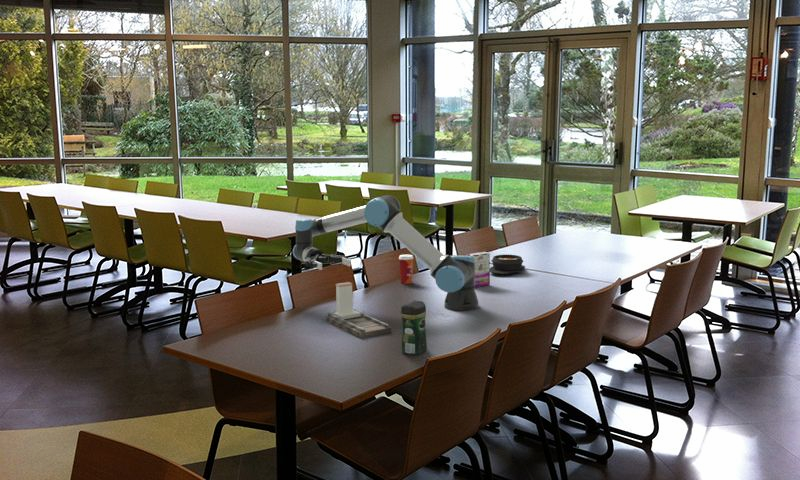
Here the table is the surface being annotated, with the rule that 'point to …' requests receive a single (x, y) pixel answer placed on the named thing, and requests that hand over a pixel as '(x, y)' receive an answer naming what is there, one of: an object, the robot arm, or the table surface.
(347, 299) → the post
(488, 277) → the candy bar box
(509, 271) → the casserole
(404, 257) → the paper cup
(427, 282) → the table surface
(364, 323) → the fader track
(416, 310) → the coffee jar
